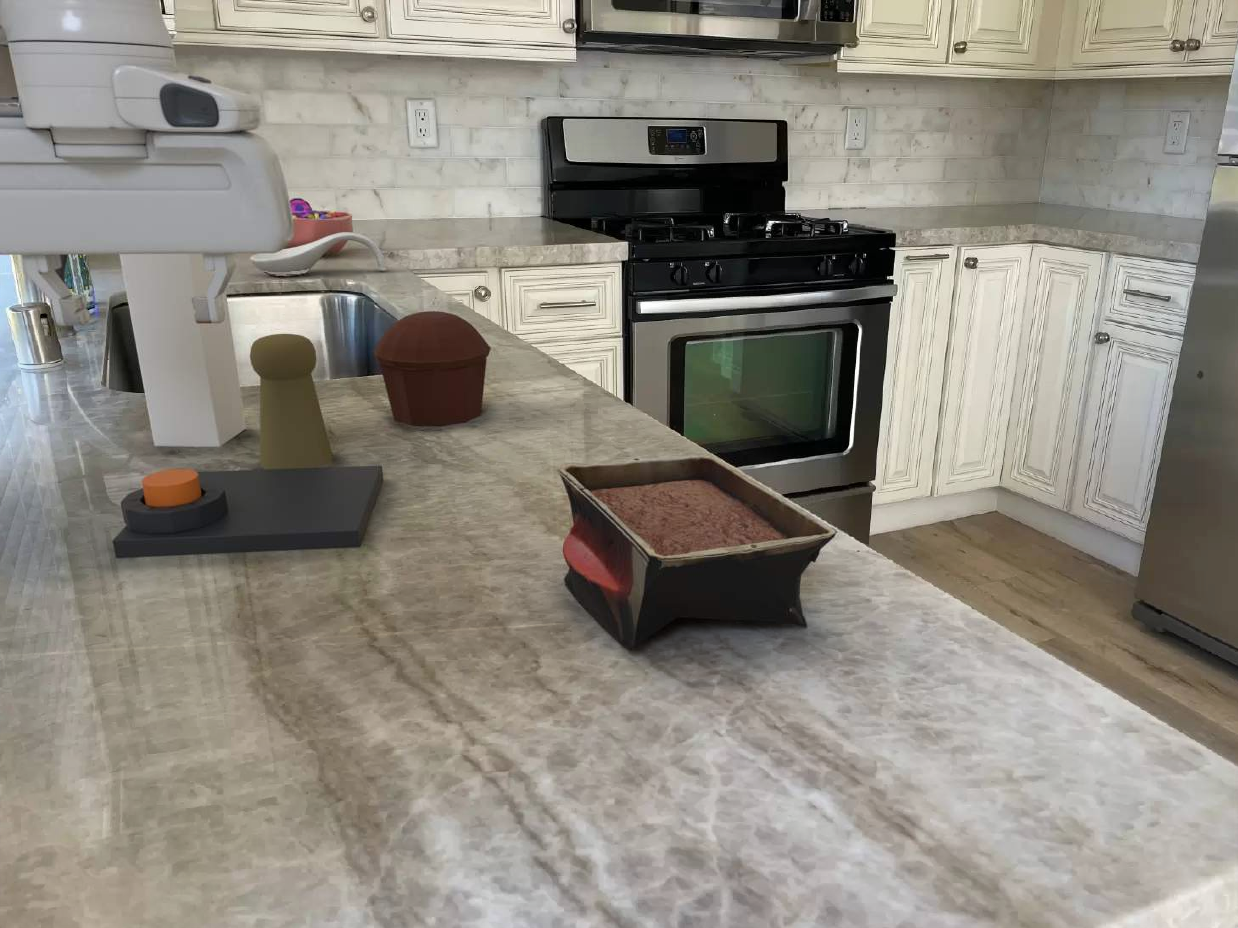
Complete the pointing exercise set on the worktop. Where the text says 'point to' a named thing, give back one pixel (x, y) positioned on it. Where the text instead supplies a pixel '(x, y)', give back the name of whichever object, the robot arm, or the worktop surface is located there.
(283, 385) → the cork
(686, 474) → the baking dish
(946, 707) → the worktop surface
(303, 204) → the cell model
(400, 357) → the muffin
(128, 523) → the scale
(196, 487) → the button
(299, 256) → the spoon rest
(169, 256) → the milk
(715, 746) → the worktop surface
